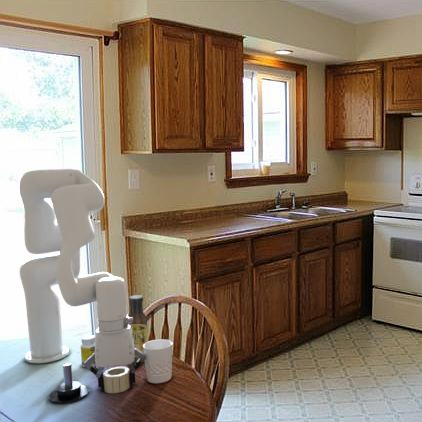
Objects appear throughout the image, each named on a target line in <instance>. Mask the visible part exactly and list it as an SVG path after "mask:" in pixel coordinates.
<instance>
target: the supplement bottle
mask: <svg viewBox="0 0 422 422" xmlns="http://www.w3.org/2000/svg"><path fill="white" fill-rule="evenodd" d="M93 353H95V335H94V334H90V335H84V336H82V337H81V344H80V355H81V357H80V358H81V359H80V360H81V366H82V367H84V368H86V367H85V366H84V363H85V361H86V360H87V359H88V358H89V357H90V356H91V355H92V354H93ZM92 365H94V366H96V364H95V360H94V361H93V362H92Z"/></svg>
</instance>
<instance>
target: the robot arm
mask: <svg viewBox="0 0 422 422" xmlns="http://www.w3.org/2000/svg"><path fill="white" fill-rule="evenodd" d="M17 191H18V195H19V198H20V201H21V204H22V209H23V230H24V246H25V250H27V252H28V253H30V254H31V255H43V254H49V255H43V256H38V257H33V258H29V259H28V260H26V261H24V262H22V264H21V266H20V268H19V277H20V281H21V284H22V288H23V292H24V298H25V309H26V318H27V331H28V343H29V351H28V352H27V353H26V354H25V355H24V359H25V361H26V362H27V363H29V364H48V363H53V362H56V361H58V360H61V359H64V358H65V357H67V356H68V355H69V353H70V349H69V347H68V346H66V345H64V340H63V325H62V313H61V301H60V297H59V296H58V294H57V293H56V292H54V291H53V289H52V288H51V287H55V286H58V287H59V290H60V294H61V296H62V299H63V300H64V302H65V303H66V304H67V305H68V306H70V307H81V306H85V305H88V304H91V303H95V302H96V312H97V313H96V314H97V316H96V317H97V327H98V328H96V329H95V335H94V336H95V353H93V354H92V355H91V356H90V357H89V358H88V359H87V360H86V361H85V363H84V366H85V367H84V366H83V367H84V368H86V369H87V370H89V371H90V372H91V374H93V375H94V376H95V377H96V378H97V386H98V388H100V392H101V393H102V392H105V391H104V381H103V372H104V371H105V368H114V367H123V366H126V367H127V368H129V370H130V373H129V378H130V389H132V388H134V384H136V380H137V379H136V371H137V370H138V369H139V368H140V367H141V366H142V364H143V363H145V361H144V360H145V359H146V355H145V354H144V353H142V352H141V351H139V350H138V349H136V348H135V345H134V337H133V332H132V328H131V325H128V324H129V323H133V318H130V317H129V316H128V306H127V291H126V281H125V279H124V278H122V277H120V276H114V275H113V274H111V273H110V272H107V271H101V272H95V273H91V274H86V275H82V276H80V272H81V248H83V247H84V246H86V245H88V244H89V243H90V242H92V241H94V239H95V237H96V232H95V229H94V225H93V222H92V219H91V215H90V214H91V213H96V212H97V213H98V212H101V211H102V210H103V209H104V207H105V203H106V202H105V200H106V199H105V195H104V193H103V192H104V191H103V190H102V189H101V187H100V186H99V185H98V184H97V183H96V182H95V180H93V179H92V178H90V177H89V176H88V175H87V174H86V173H84V172H83V171H82V170H79V169H77V168H53V169H52V168H51V169H50V168H49V169H47V168H46V169H36V170H29V171H26V172H24V173H23V174H22V175H20V177H19V179H18V185H17ZM55 252H59V253H55ZM50 253H55V254H50ZM135 355H136V356H138V357H139V360H138V361H137V362H136V363H133V362H134V358H135ZM94 360H95V364H96V365H95V366H94V365H92V362H93V361H94Z"/></svg>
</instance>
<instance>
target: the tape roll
mask: <svg viewBox="0 0 422 422" xmlns="http://www.w3.org/2000/svg"><path fill="white" fill-rule="evenodd" d="M129 373H130V370H129V368H128V366H113V367H109V368H108V369H106V370H103V381H104V391H103V392H104V393H107V394H118V393H119V394H120V393H123V392H125V391H127V390H129V389H131V387H130V378H129Z"/></svg>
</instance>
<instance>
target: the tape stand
mask: <svg viewBox="0 0 422 422" xmlns="http://www.w3.org/2000/svg"><path fill="white" fill-rule="evenodd" d="M62 370H63V371H62V372H63V383H61V384H59V385H57V387H56V389H54V390H53V391H51V392H50V393H49V394H48V401H49V402H50V403H51V404H55V405H65V404H72V403H75V402H79V401H81V400H83V399H85V398H86V397H88V395H90V387H89V386H87V385H85V384H81V382H80V381H73V370H72V363H71V362H67V363H64V364H63V365H62Z"/></svg>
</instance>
